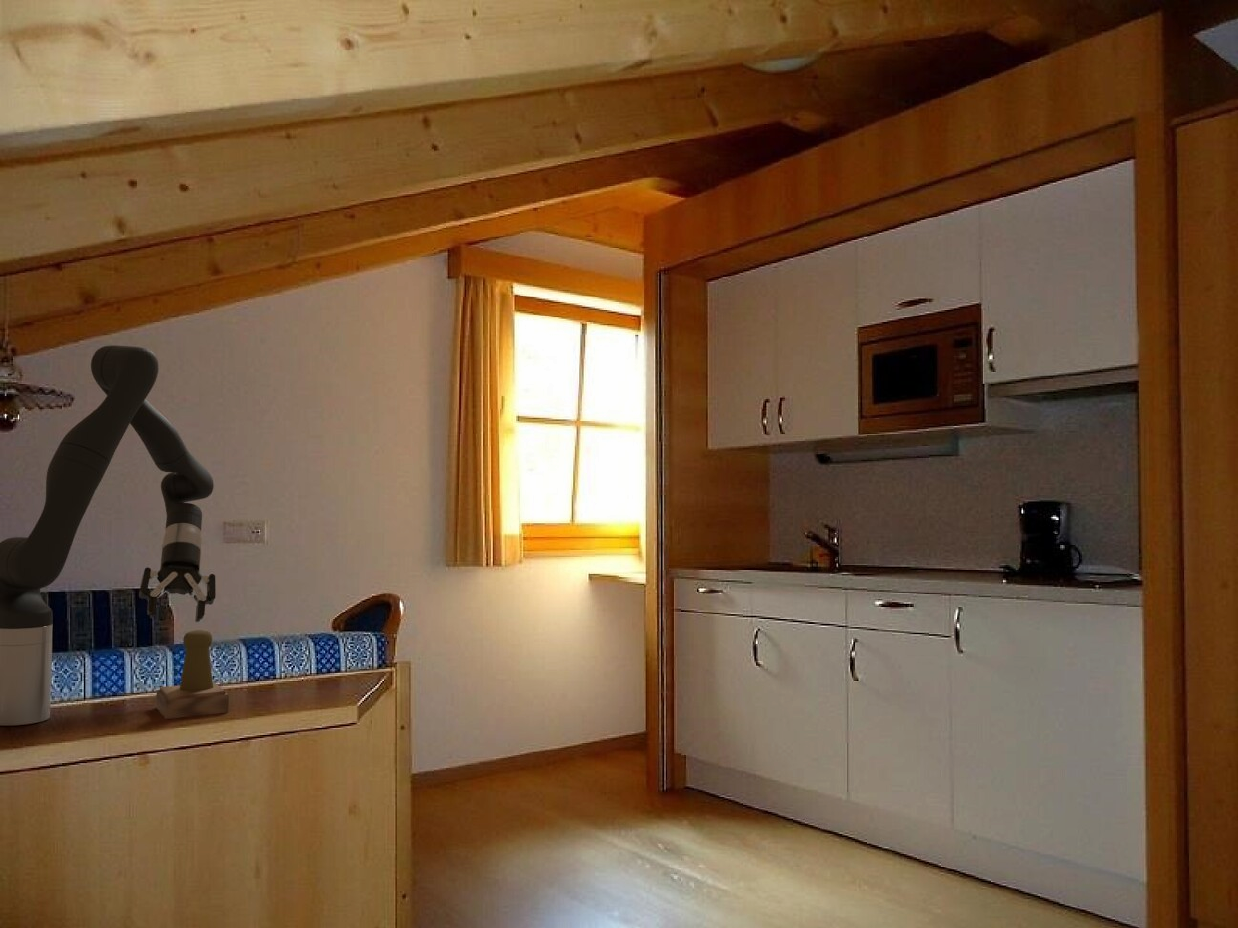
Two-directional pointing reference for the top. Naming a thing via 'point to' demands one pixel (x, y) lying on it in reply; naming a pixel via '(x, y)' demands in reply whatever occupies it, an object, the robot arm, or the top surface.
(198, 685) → the cork
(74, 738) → the top surface
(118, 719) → the top surface
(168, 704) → the plinth
